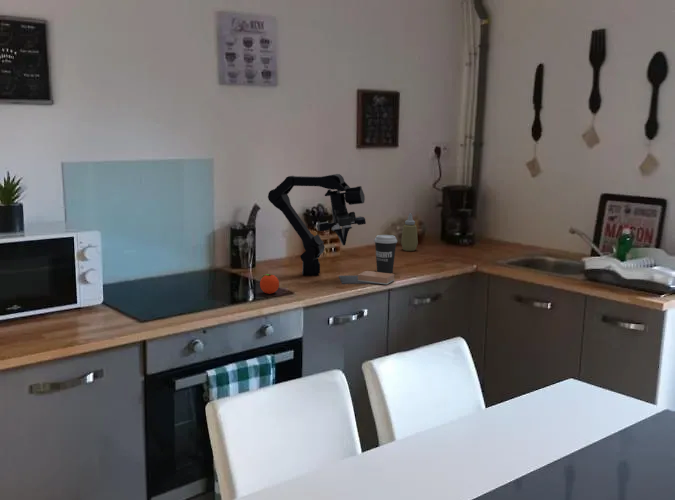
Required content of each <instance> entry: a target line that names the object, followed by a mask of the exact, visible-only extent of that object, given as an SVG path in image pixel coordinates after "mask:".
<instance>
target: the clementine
mask: <svg viewBox="0 0 675 500" xmlns="http://www.w3.org/2000/svg"><path fill="white" fill-rule="evenodd" d="M259 281H260V282H259V287H260V289H261V291H263V293H265V294H267V295H268V294H269V295H270V294H274V293H276V292H277V291H278V289H279V287H280V281H279V278H278V277H276V275H274V274H270V273H267V274H263V275H262V276H261V278H260V280H259Z"/></svg>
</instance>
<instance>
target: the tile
mask: <svg viewBox="0 0 675 500" xmlns="http://www.w3.org/2000/svg"><path fill="white" fill-rule="evenodd" d="M357 275H358V281H362V282H371V283H378V284H381V285H389V284H390V283H392V282H394V281H395V273H382V272H377V271H370V270H365V271H362V272H361V273H358V274H357Z"/></svg>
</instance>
